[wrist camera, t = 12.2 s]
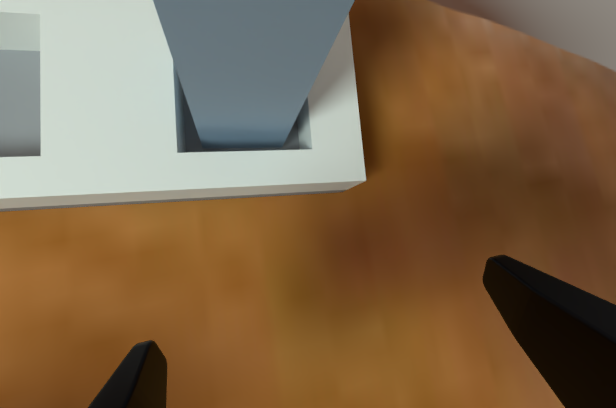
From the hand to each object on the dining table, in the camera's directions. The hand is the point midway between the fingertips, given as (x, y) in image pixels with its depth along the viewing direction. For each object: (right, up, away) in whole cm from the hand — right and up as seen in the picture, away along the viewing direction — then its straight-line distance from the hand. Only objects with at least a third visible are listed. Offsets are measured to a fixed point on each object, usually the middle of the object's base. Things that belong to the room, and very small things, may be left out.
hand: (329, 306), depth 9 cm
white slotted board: (-11, +8, +10) cm, 17 cm away
